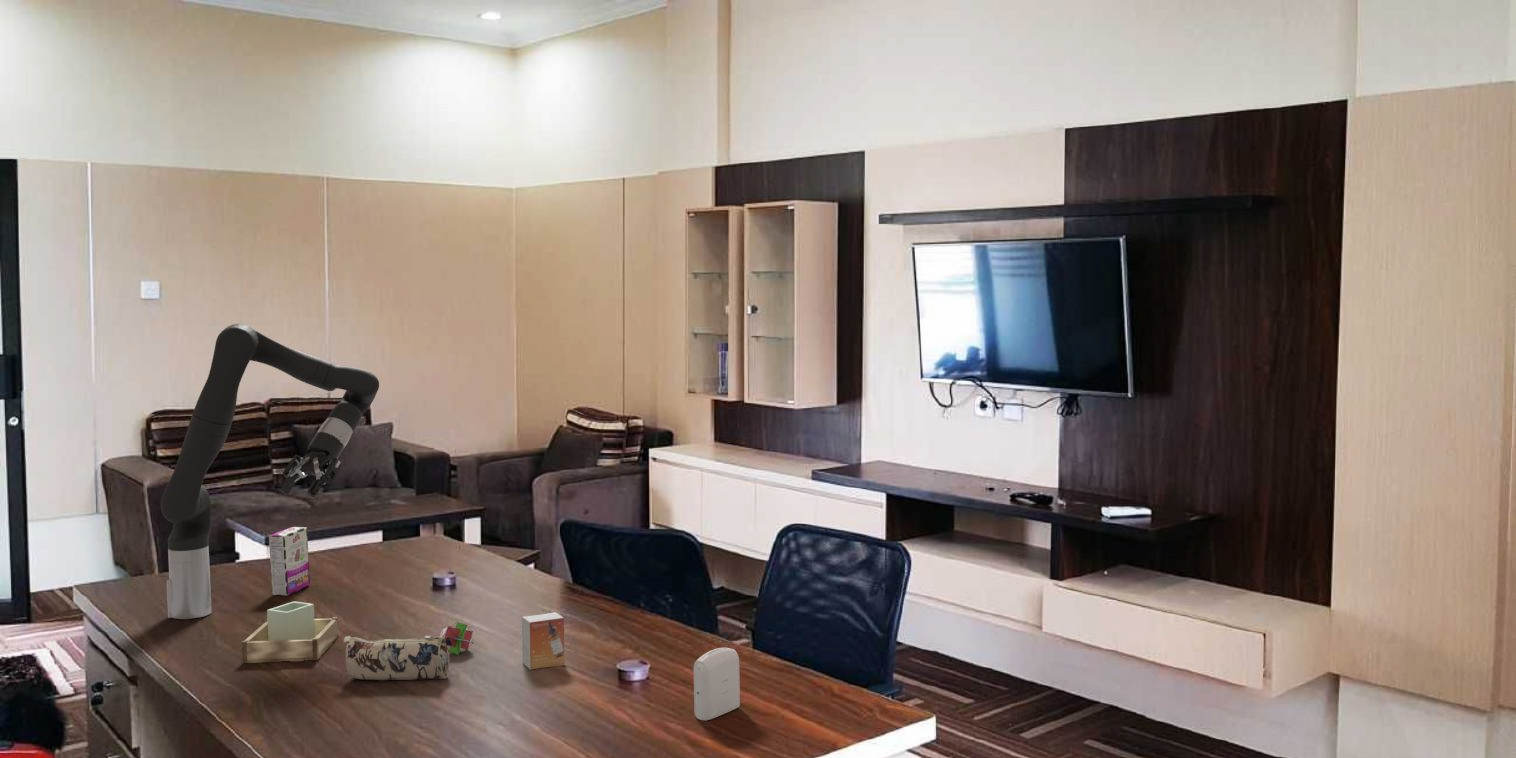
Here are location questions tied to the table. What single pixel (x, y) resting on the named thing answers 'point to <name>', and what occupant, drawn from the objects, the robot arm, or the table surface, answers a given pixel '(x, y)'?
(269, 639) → the box
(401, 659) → the pencil case
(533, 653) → the small box
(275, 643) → the wooden tray
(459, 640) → the geometric puzzle
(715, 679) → the photo printer
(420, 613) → the table surface
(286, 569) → the candy bar box
